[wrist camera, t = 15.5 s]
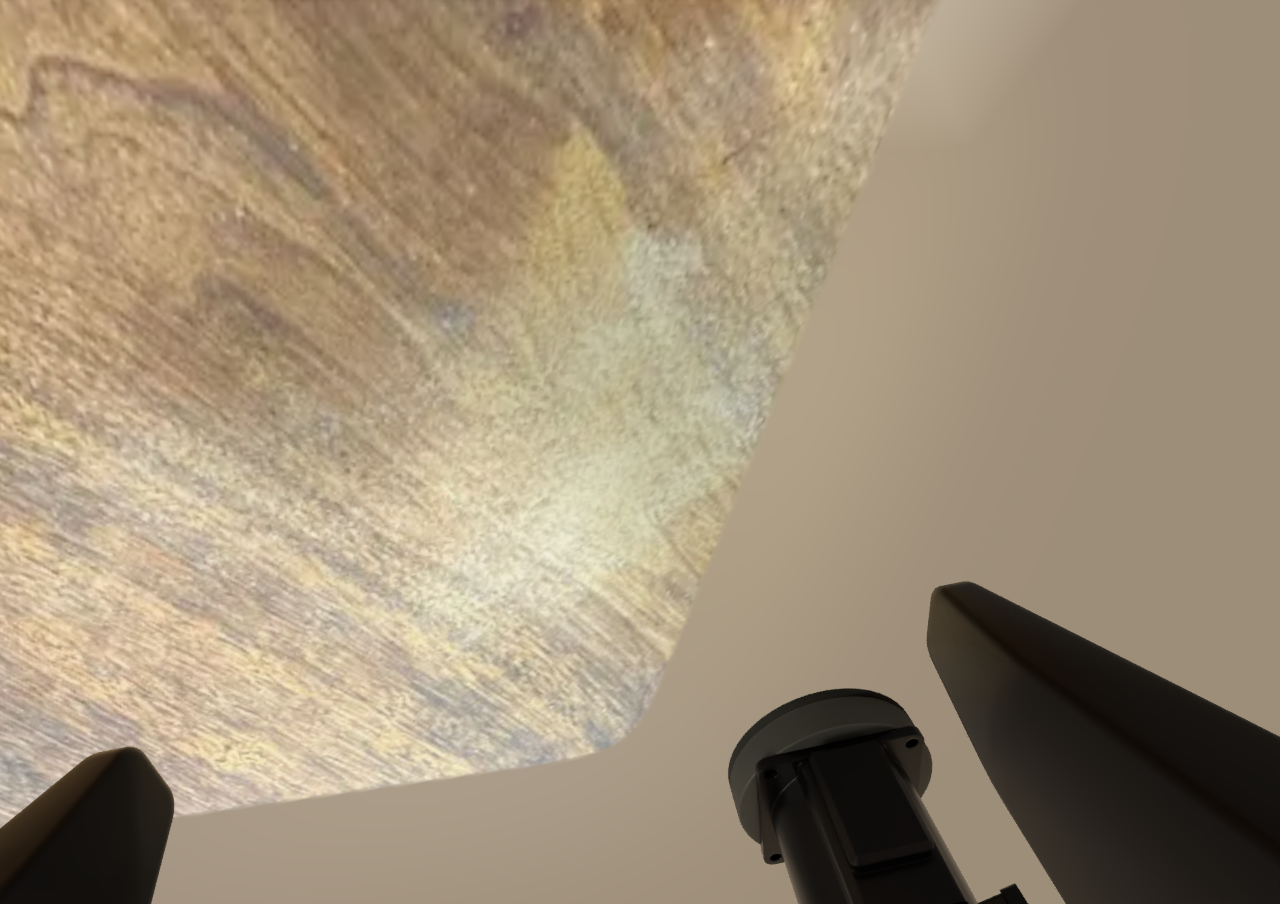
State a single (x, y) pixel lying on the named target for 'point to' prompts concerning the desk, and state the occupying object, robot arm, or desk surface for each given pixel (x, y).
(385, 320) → the desk surface
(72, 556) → the desk surface
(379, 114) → the desk surface
